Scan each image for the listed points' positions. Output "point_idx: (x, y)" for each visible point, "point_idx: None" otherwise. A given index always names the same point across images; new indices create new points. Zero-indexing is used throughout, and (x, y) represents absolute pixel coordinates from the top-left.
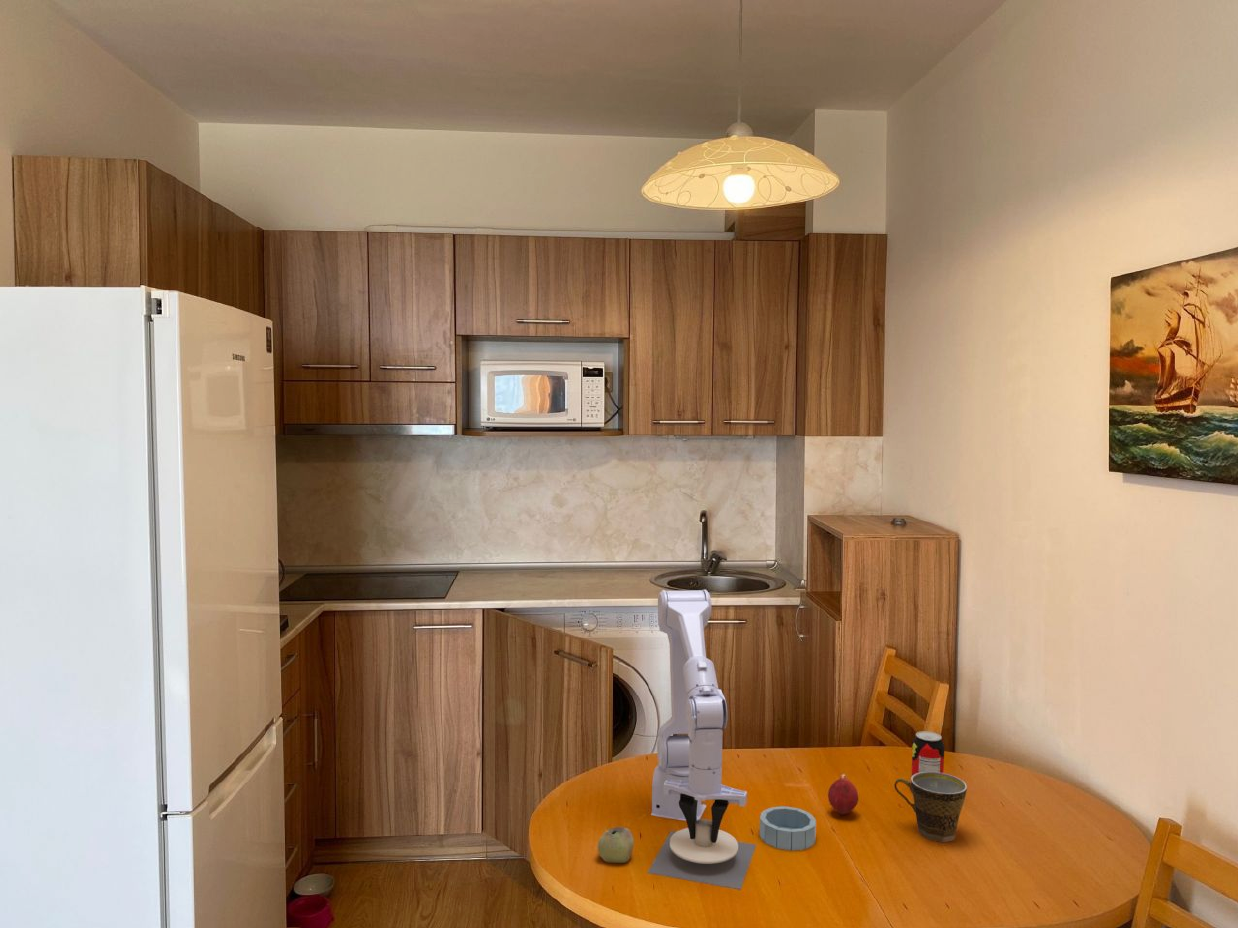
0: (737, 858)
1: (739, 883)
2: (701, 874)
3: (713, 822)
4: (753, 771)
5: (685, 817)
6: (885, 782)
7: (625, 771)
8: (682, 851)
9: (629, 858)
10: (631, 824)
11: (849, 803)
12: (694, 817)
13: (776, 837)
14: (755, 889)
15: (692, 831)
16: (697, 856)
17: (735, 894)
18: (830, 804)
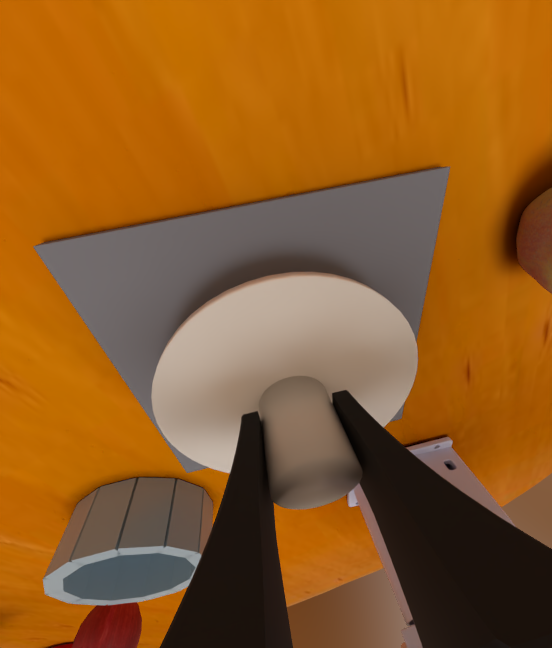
0: None
1: (74, 286)
2: (243, 269)
3: (249, 522)
4: (308, 574)
5: (438, 476)
6: None
7: (494, 498)
8: (353, 310)
9: (528, 218)
10: (489, 396)
11: (78, 637)
12: (377, 494)
13: (127, 517)
14: (19, 297)
15: (352, 417)
16: (276, 306)
17: (49, 217)
18: (134, 604)
